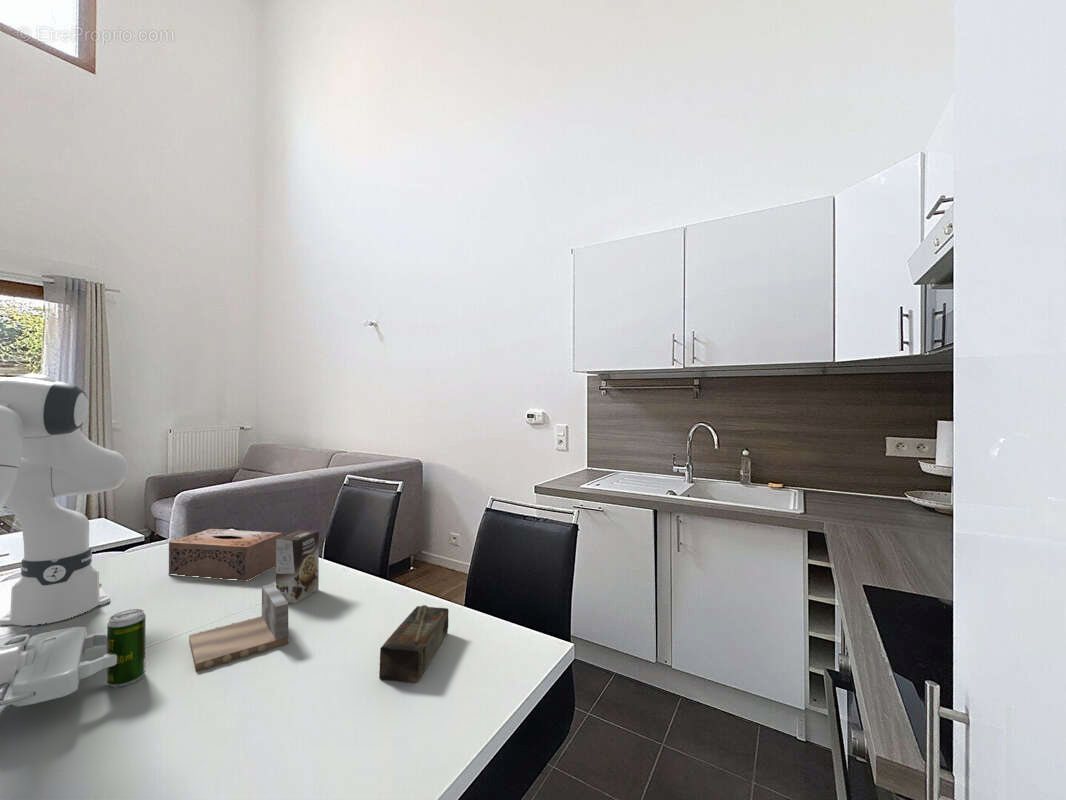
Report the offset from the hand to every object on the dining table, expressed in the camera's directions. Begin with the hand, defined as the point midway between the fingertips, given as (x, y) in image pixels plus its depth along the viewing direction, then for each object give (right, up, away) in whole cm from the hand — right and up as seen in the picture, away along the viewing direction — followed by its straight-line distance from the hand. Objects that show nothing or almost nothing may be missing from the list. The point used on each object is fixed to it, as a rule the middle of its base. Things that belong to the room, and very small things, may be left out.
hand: (117, 646), depth 86 cm
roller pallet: (+13, -6, +14) cm, 20 cm away
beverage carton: (+52, -7, +10) cm, 54 cm away
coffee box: (+14, -7, +38) cm, 41 cm away
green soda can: (+1, -7, +1) cm, 7 cm away
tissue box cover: (-17, -7, +57) cm, 59 cm away
